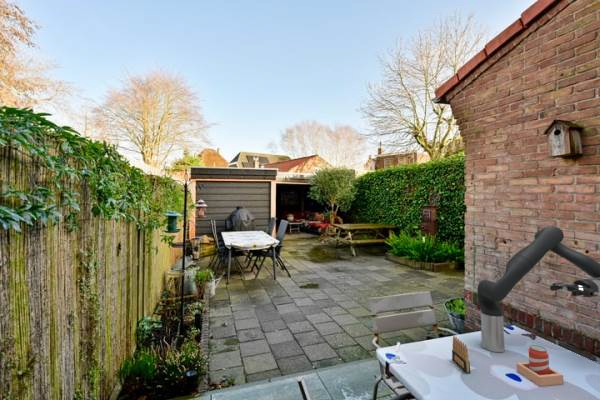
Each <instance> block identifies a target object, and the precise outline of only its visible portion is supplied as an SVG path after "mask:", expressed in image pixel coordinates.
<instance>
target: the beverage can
mask: <svg viewBox="0 0 600 400" xmlns="http://www.w3.org/2000/svg"><path fill="white" fill-rule="evenodd" d="M527 350H528V362H529V368H530V370H532V371H533V372H535V373H537V374H538V375H547V374H550V371H549V367H550V361H549V360H550V359H549V357H550V356H549V353H548V352H547V349H546V348H545V347H543V346H540V345H538V344H537V345H536V344H531V345H530V346H529V348H528V349H527Z"/></svg>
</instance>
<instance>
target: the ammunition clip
mask: <svg viewBox="0 0 600 400" xmlns="http://www.w3.org/2000/svg"><path fill="white" fill-rule="evenodd" d="M451 354H452V355H451V361H452V360H453V361H454V362H455V363H456V364H457V366H458V367H459V369H461V371H463V373H465V374H471V366H470V365H471V363H470V360H469V350H468V345H467V344H465V343H464V342H463V341H462V340H460V338H458V337H457V336H455V335H453V337H452V349H451ZM453 361H452V362H453ZM454 362H453V363H454ZM456 364H455V365H456Z"/></svg>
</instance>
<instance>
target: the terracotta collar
mask: <svg viewBox="0 0 600 400" xmlns="http://www.w3.org/2000/svg"><path fill="white" fill-rule="evenodd" d="M549 371H550V374H547V375H538V374H537V373H535V372H533V371H532V370H530V368H529V361H526V362H524V361H523V362H516V372H517V373H519V374H520V375H522V376H524V377H525V378H526V379H527V380H530V381H531V382H533V383H534V384H536V385H537V386H539V387H547V386H557V385H559V386H560V385H564V381H565V380H564V374H562V373H560V372H558V370H555V369H553V368H552V367H550V366H549Z"/></svg>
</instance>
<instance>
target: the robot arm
mask: <svg viewBox="0 0 600 400" xmlns="http://www.w3.org/2000/svg"><path fill="white" fill-rule="evenodd" d="M564 236H565V234H564V231H563V230H562V229H561V228H559V227H557V226H553V225H552V226H546V227H543V228H541V229H540V230H538V231H537V232H535V234H534V240H533V241H532V242H531V243H529V244H528V245H526V246H524V247H523V248H522V249H520V250H519V251H517V252H516V253H515V254H514V255H513V256H512V257H511V258H510V259H509V260H508V261H507V263H506V265H505V271H504V274H503V275H502V276H501V277H500V278H499V279H498V280H497V281H495V282H494V281H492V280H488V279H483V280H480V282H479V283H478V284H477V288H476V289H477V301H478V306H479V308H480V317H481V319H480V321H481V327H480V333H481V335H480V336H481V348H483V349H485V350H487V351H490V352H493V353H494V352H495V353H504V352H505V349H506V348H505V347H506V346H505V330H504V328H505V327H504V312H503V311H504V310H503V308H501V306H500V305H499V304H498V303H500V302H502V301H504V299H506V297H507V296H508V295H509V293H511V291H513V289H514V288H515V286H516V285H517V284H518V283H519V282H520V281H522V279H523V278H524V277H525V276H526V275H527V274H528V273H529V272H531V270H533V269H534V267H535V266H536V265H537V264H538V263H539V262H540V261H541V260H542V259H543V258H544V256H546V254H547V253H548V252H550V251H551V252H552V253H554V254H556V255H557V256H559V257H561V258H563V259H565V260H566V261H568V262H570V263H571V264H573V266H575V267H577V268H578V269H580V270H582V272H584V273H585V274H587V275H588V276H590V277H591V278H585V279H576V280H575V281H573V282H572V283H565V282H563V281H562V282H553V283H552V284H551V285H549V289H550V291H551V292H552V291H553V292H555V291H563V292H564V293H571V296H572V297H582V298H592V297H593V298H594V297H598V296H600V262H598V261H596V260H595V259H594V258H592V257H591V256H589V255H587V254H585V253H582V252H579V251H577V250H575V249H572V248H570V247H569V246H567V245H565V244H563V243H562V241H563V240H564Z"/></svg>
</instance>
